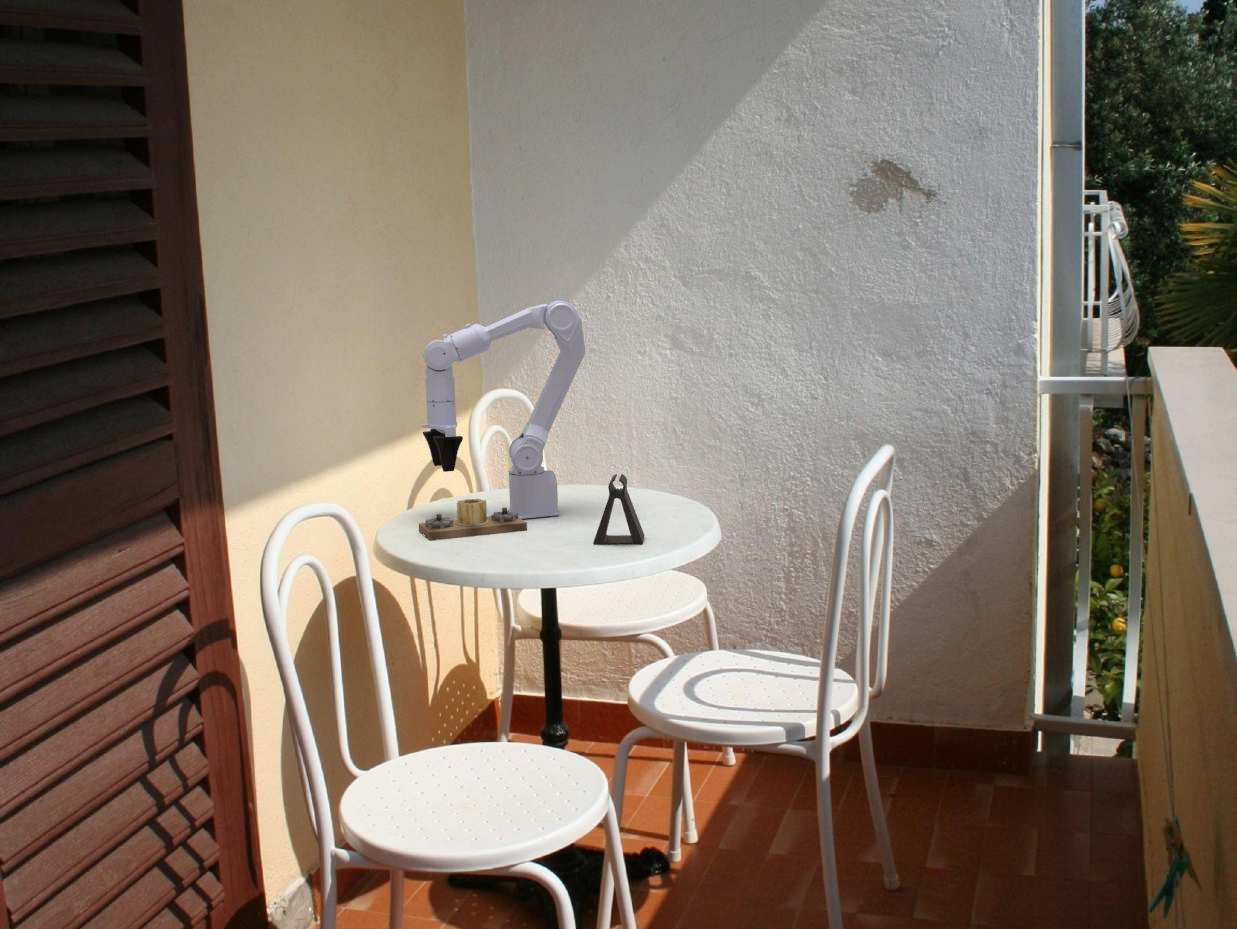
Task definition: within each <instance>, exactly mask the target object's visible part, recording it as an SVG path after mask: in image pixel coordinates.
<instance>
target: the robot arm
mask: <svg viewBox="0 0 1237 929" xmlns="http://www.w3.org/2000/svg"><path fill="white" fill-rule="evenodd" d="M545 326H546V327H547V329H548V330H549V331H550V333H551V334H552V335H553V336H554V339H555V342H556V344H557V346H558V349H559V352H558V353H559V354H558V355H557V357H556V360H555V362H554V364H553V366H552V369H551V371H550V372H549V375H548V376H547V380H546V382H545V384H544V386H543V387H542V388H543V389H542V390H541V392H540V394H539V397H538V399H537V401H536V403H535V405H534V408H533V409H532V412H531V414H530V417H529V418H528V421H527V422H526V423H525V425H524V427H523V429H522V431H521V432H520V434H519V435H518V436H517V438H515V439H514V440H513V441H512V442H511V444H510V445H509V449H508V453H509V457H510V459H511V463H512V466H511V467H510V468H509V469H508V485H509V486H508V488H509V509H507V511H511V512H518V517H519V518H520V519H522V520H524V519H525V520H526V519H535V518H536V519H537V518H544V517H555V516H559V515H560V512H559V501H558V500H559V498H558V497H559V496H558V480H557V477H556V473H555V471H553V470H550V469H549V470H545V468H544V466H542V464H543V461H544V453H543V452H544V449H545V446H546V443H547V440H548V436H549V433H550V431H551V429H552V427H553V424H554V422H555V420H556V418H557V415H558V413H559V411H560V409H561V406H562V405H563V402H564V401H565V398H566V396H567V394H568V392H569V389H570V387H571V384H572V383H573V381H574V379H575V376H576V374H577V373H578V370H579V368H580V365H581V364H582V361H583V359H584V357H585V354H586V346H585V345H586V344H585V339H584V332H583V321H582V319H581V317H580V315H579V313H578V311H577V310H576V308H575V306H574V305H573V304H571V303H570V302H567V301H564V300H562V299H556V300H552V301H549V302H548V303H542V304H537V305H534V306H530V307H528V308H525V309H523V310H520V311H519V312H516V313H514V314H512V315H509V316H507V317H505V318H503V319H501V320H498V321H496V322H494V323H492V324H489V325H487V326H483V325H481V324H479V323H474V324H471V323H467V324H465V325H464V328H462V329H460V330H458V331H455V332H453V333H451V334H448V333H445V334H442V335H441V336H442V339H443V340H442V339H435V340H432V341H430V342H429V343H428V344H427V345H426V346H425V349H424V353H423V359H424V362H425V365H426V366H425V370H424V371H425V372H424V373H425V376H426V377H425V399H426V400H425V401H426V420H427V421H426V422H425V423H421V428H423V429H429V431H427V430H426V431H422V435H423V437H424V438H425V440H426V442H427V446H428V447H429V451H430V452H429V453H430V455H431V459H432V463H433V465H434V467H438V466H439V467H441V468H442V469H441V470H442V472H444V473H446V472H447V473H448V472H455V467H456V463H457V457H458V451H459V448H460V446H461V445H462V444H461V443H462V442H463V440H464V439H463V438H464V437H463V436H462V435H457V428H458V422H457V411H456V410H457V408H456V405H457V404H456V390H455V388H456V387H455V386H456V385H455V377H454V373H453V363H454V362H458V363H461V362H463V361H465V360H468V359H470V358H473V357H476V356H479V355H480V354H482V353H485V352H488V351H489V348H490V347H491V344H492V342H494V341H496V340H500V339H502V338H504V337H507V336H510V335H512V334H515V333H518V332H519V331H523V330H525V329H528V328H529V329H530V328H531V329H532V328H533V329H538V330H539V329H541V330H542V329H543V330H545Z"/></svg>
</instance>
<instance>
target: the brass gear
mask: <svg viewBox="0 0 1237 929" xmlns="http://www.w3.org/2000/svg"><path fill="white" fill-rule="evenodd" d="M487 508H488V507H487V500H486V499H481V498H465V499H463V500H461V499H460V500H457V502H456V516H457V519H456V520H457V521H458V524H463V525H478V524H481V523H486V521H487V517H488V510H487Z"/></svg>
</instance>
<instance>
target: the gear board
mask: <svg viewBox="0 0 1237 929" xmlns="http://www.w3.org/2000/svg"><path fill="white" fill-rule="evenodd" d="M507 510H508V508H507V507H502V508H501V511H494V512H493V513H492V514H490V515H489V516H488V515H487V521H486V523H481V524H478V525H463V524H458V521H457V519H451V517H442V513H437V514H435V517H434V518H429V519H425V521H424V522H420V523H418V531H419V533H421V534H422V535H423V534H424V535H425V536H426V537H427V538H426V537H425V536H424V535H423V536H424V537H425V538H426V539H427V540H429V541H437V540H436V539H439V540H445V539H446V540H447V539H455V538H465V537H475V536H484V535H494V534H502V533H504V534H505V533H513V532H521V531H528V524H527V522H526V520H524V519H520V518H519V517H518V512H511V511H507Z"/></svg>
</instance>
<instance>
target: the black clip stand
mask: <svg viewBox="0 0 1237 929" xmlns="http://www.w3.org/2000/svg"><path fill="white" fill-rule="evenodd" d="M617 477H618V474H617V473H615V474H614V475H613V476H612V477H611V479H610V481H609V483H608V499H607V501H606V504H605V508H604V510H603V513H602V516H601V519H600V522H599V524H598V525H599V526H598V528H597V530H596V534H595V537H594V540H593V545H595V546H599V545H600V546H608V545H609V546H614V545H616V546H617V545H619V546H620V545H621V546H622V545H623V546H624V545H628V546H633V545H638V546H639V545H643V543H644V539H645V533H644V531H643V528H642V525H641V522H640V519H639V518H638V514H637V512H636V508H635V506H634V504H633V501H632V499H631V497H630V493H629V491H628V479H627V477H626V476H625V475H624V473H621V474H620V476H619V479H618V482H619V483H621V484H622V486H623V487H621V488H619V487H617V488H616V486H615V484H614V483H613V482H615V481H616V479H617ZM616 499H618V500H620V504H621V505H622V509H623V513H624V515H625V519H626V520H625V521H626V523H627V527H628V530H629V535H628V534H627V535H624V534H623V535H621V534H620V535H617V534H615V535H611V534H610V535H609V534H607V531H608V528H609V525H610V524H609V523H610V519H611V515H612V512H613V508H614V503H615V500H616Z"/></svg>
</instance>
